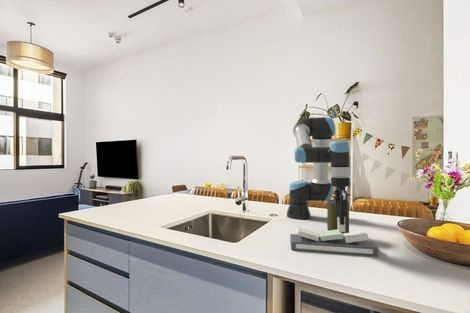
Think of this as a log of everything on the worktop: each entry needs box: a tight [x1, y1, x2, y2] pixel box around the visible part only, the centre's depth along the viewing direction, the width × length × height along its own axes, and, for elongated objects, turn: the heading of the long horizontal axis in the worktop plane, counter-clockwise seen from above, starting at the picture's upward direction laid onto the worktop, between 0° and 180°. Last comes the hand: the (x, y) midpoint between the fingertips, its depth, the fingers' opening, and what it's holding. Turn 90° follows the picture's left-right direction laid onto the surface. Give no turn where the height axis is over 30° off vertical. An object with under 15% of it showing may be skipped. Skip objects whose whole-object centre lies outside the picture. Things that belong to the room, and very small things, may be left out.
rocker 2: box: [342, 229, 370, 243], centre depth 100 cm, size 6×9×2 cm, turn 79°
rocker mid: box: [317, 229, 343, 241], centre depth 102 cm, size 6×9×2 cm, turn 79°
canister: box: [326, 195, 350, 234], centre depth 117 cm, size 11×10×20 cm
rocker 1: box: [295, 226, 319, 241], centre depth 104 cm, size 6×9×2 cm, turn 79°
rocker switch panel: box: [289, 233, 379, 257], centre depth 102 cm, size 10×34×5 cm, turn 79°
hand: (341, 231), depth 101 cm, fingers closed
